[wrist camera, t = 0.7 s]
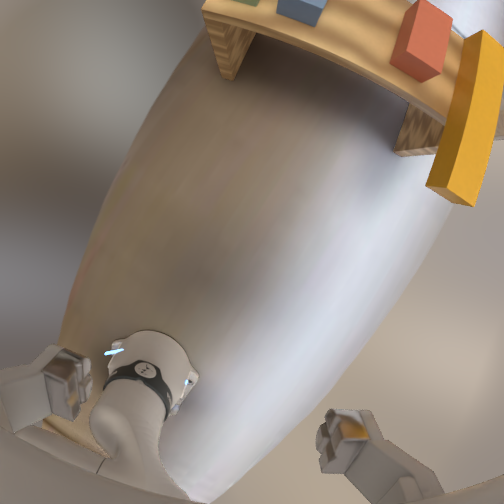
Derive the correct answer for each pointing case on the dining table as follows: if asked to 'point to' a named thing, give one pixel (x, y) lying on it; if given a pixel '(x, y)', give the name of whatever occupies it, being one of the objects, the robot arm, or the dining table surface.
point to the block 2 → (301, 10)
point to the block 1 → (249, 2)
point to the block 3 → (422, 41)
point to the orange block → (470, 122)
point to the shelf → (346, 54)
